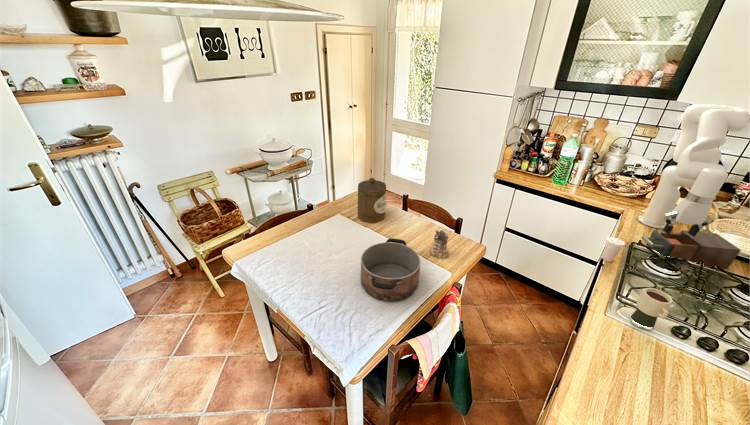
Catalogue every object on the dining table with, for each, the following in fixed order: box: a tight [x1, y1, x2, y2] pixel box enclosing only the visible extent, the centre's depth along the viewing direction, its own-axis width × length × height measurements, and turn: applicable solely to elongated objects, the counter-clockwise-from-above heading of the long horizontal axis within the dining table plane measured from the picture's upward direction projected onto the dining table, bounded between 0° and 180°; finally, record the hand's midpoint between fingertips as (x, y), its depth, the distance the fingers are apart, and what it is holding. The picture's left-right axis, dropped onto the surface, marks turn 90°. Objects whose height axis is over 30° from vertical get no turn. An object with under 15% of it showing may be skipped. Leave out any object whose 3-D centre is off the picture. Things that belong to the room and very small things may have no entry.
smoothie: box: [601, 231, 626, 263], centre depth 130 cm, size 6×6×14 cm
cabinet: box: [678, 229, 742, 270], centre depth 133 cm, size 14×13×10 cm
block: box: [666, 238, 681, 254], centre depth 135 cm, size 5×5×5 cm
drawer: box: [641, 229, 700, 261], centre depth 135 cm, size 18×12×8 cm, turn 80°
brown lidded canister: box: [357, 177, 387, 224], centre depth 159 cm, size 15×15×22 cm
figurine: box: [430, 229, 449, 259], centre depth 132 cm, size 7×7×12 cm
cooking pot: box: [360, 237, 421, 302], centre depth 116 cm, size 30×22×11 cm
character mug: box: [630, 287, 673, 328], centre depth 99 cm, size 11×7×13 cm, turn 175°
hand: (678, 233), depth 132 cm, fingers open, 9 cm apart
